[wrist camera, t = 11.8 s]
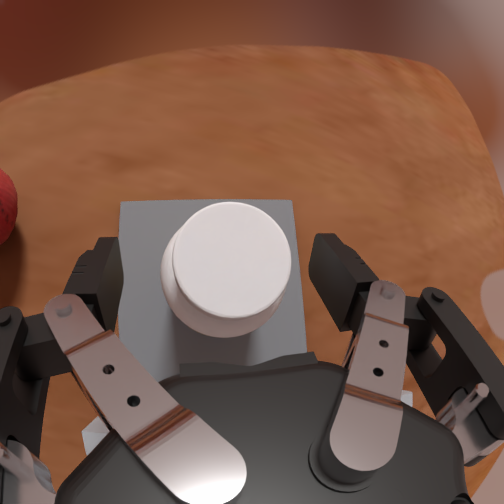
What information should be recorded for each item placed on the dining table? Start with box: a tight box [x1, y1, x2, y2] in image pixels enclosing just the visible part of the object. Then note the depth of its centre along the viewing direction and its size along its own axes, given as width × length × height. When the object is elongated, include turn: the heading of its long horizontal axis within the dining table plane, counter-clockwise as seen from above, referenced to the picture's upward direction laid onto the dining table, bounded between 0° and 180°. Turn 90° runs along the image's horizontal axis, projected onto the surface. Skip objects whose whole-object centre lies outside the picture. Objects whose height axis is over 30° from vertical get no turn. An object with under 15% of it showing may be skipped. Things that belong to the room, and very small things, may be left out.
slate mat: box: [118, 199, 307, 382], centre depth 20 cm, size 12×12×1 cm
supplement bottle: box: [160, 202, 291, 338], centre depth 15 cm, size 5×5×10 cm
